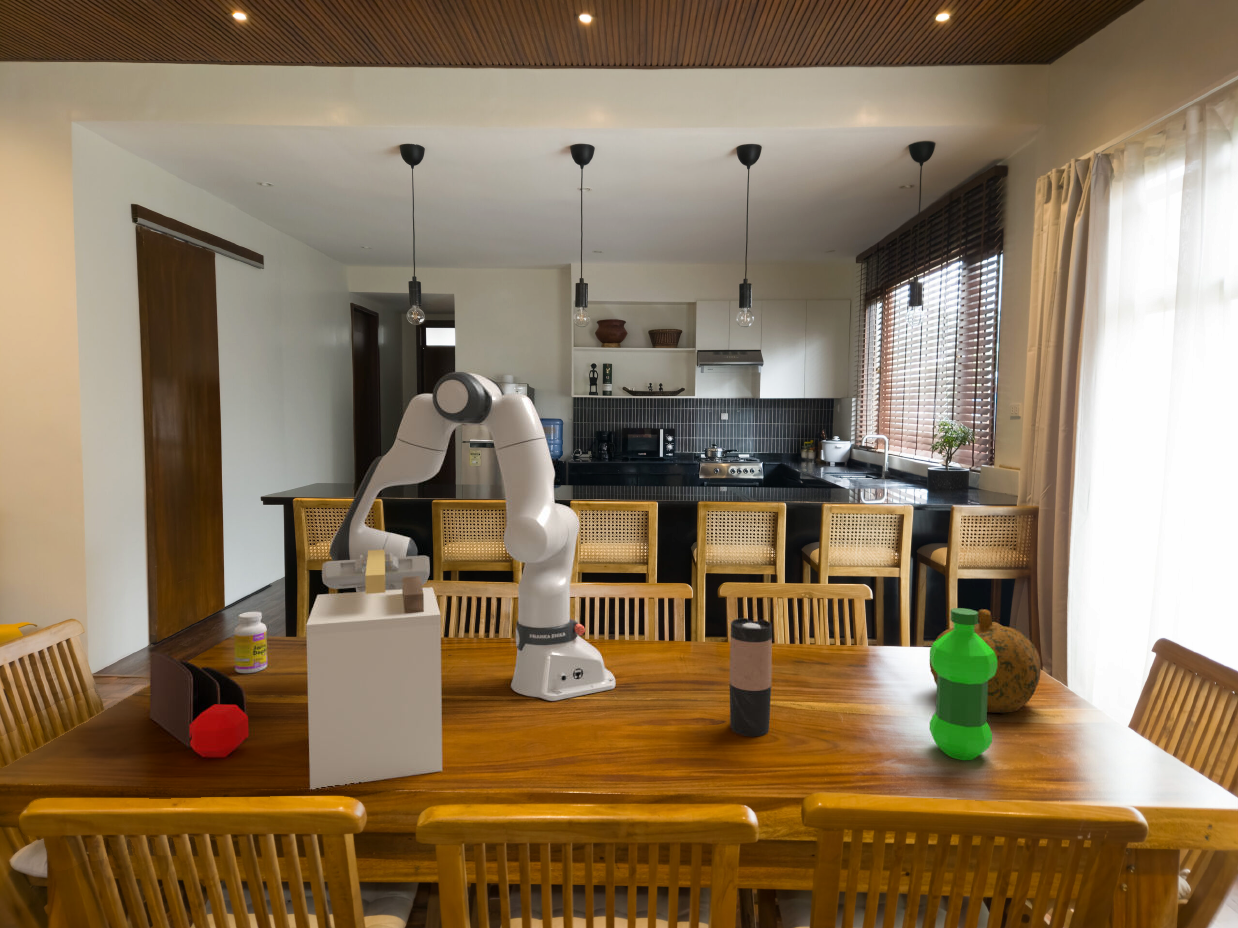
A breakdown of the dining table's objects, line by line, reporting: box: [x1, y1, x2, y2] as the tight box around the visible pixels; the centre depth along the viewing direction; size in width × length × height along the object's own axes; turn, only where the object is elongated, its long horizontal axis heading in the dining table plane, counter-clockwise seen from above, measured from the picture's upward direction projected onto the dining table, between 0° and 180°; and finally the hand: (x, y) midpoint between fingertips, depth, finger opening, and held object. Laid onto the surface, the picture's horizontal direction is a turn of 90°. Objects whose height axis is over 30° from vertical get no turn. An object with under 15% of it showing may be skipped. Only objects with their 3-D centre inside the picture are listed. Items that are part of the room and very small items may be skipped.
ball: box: [189, 704, 250, 758], centre depth 125 cm, size 8×8×8 cm
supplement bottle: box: [233, 611, 268, 674], centre depth 166 cm, size 7×7×13 cm
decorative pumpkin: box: [929, 608, 1041, 714], centre depth 148 cm, size 20×21×20 cm
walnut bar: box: [402, 576, 424, 613], centre depth 125 cm, size 3×14×3 cm, turn 18°
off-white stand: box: [305, 586, 443, 791], centre depth 124 cm, size 20×20×26 cm
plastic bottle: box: [929, 607, 997, 761], centre depth 125 cm, size 10×10×25 cm
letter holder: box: [149, 651, 248, 749], centre depth 136 cm, size 10×20×14 cm, turn 50°
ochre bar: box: [365, 550, 385, 594], centre depth 130 cm, size 3×24×3 cm, turn 18°
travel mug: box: [729, 617, 773, 737], centre depth 135 cm, size 8×8×20 cm
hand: (376, 558), depth 138 cm, fingers closed on ochre bar, 3 cm apart
